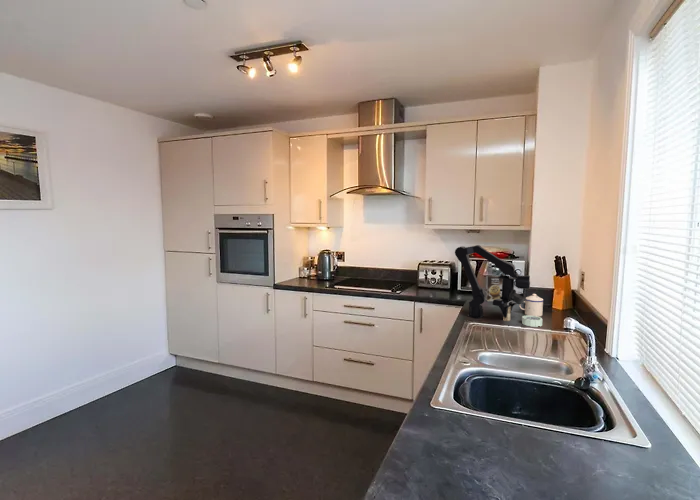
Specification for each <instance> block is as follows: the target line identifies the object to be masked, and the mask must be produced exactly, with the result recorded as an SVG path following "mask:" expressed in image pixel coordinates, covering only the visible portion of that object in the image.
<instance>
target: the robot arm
mask: <svg viewBox="0 0 700 500" xmlns="http://www.w3.org/2000/svg"><path fill="white" fill-rule="evenodd" d="M454 254H455V256H456V258H457V259H458V261H459V263H460V264H462V265H461V266H462V268H463V271H464V272H465V275H466V277H467V279H468V280H467V281H468V282H469V284H470V287H471V294H472V299H471V300H470V301H469V302H468V304H469V305H468V314H467V315H466V316H467V317H469V318H474V319H481V318H483V317H485V315H484V308H483V305H482V304H483V303H485V302H486V295H487V293H486V288H485V287H481V285H480V284H479V281H478V278H477V276H476V274H475V271H474V269H473V266H472V264H471V261H470V255H471V254H477V255H479V256H480V257H482V258H483V259H484V260H487V261H488V262H489V263H491V264H493V265H494V266H495V267H497V269H498V270H499V271H500V272H501V274H500V275H498V276H499V277H498V278H499V279H502V289H500V291H502V296H501V297H500V299H495V300H494V301H493V302H492V306H497V307H499V309H500V311H501V314H502V316H504V317H505V318H506V317H507V312H508V308H509V307H510V306H511V312H510V314H511V313H512V311H513V308H514V307H515V306H517V305H519V304H521V305H522V304H524V303H525V302H524V301H526V297H527V296H526V294H525V293H524V292H521V293H517V290H516V289H515V287H516V288H517V289H522V290H530V288H531V279H530V275H519V273H518V272H517V271H516V267H515V264H513V263H512V262H509V261H507V260H504V259H502V258H499V256H498V257H497V256H496V255H494V254H493V253H492V252H490V251H488V250H487V249H485V248H484V247H482V246H481V245H480V244H477V245H472V246H463V245H462V246H459V247H457V248H456V249H455V250H454Z"/></svg>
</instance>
